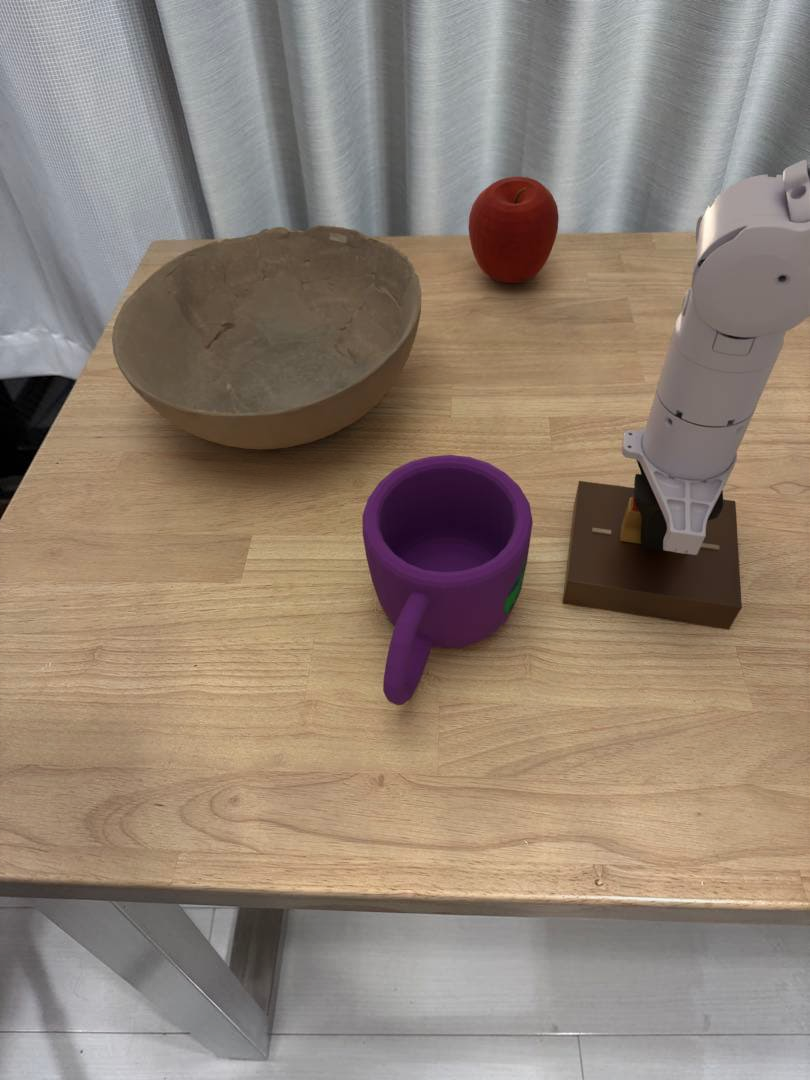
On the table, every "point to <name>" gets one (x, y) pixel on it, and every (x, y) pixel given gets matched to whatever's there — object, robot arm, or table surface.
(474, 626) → the mug
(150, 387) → the bowl
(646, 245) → the table surface
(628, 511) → the block with red patch
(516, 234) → the apple
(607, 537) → the lock plate
